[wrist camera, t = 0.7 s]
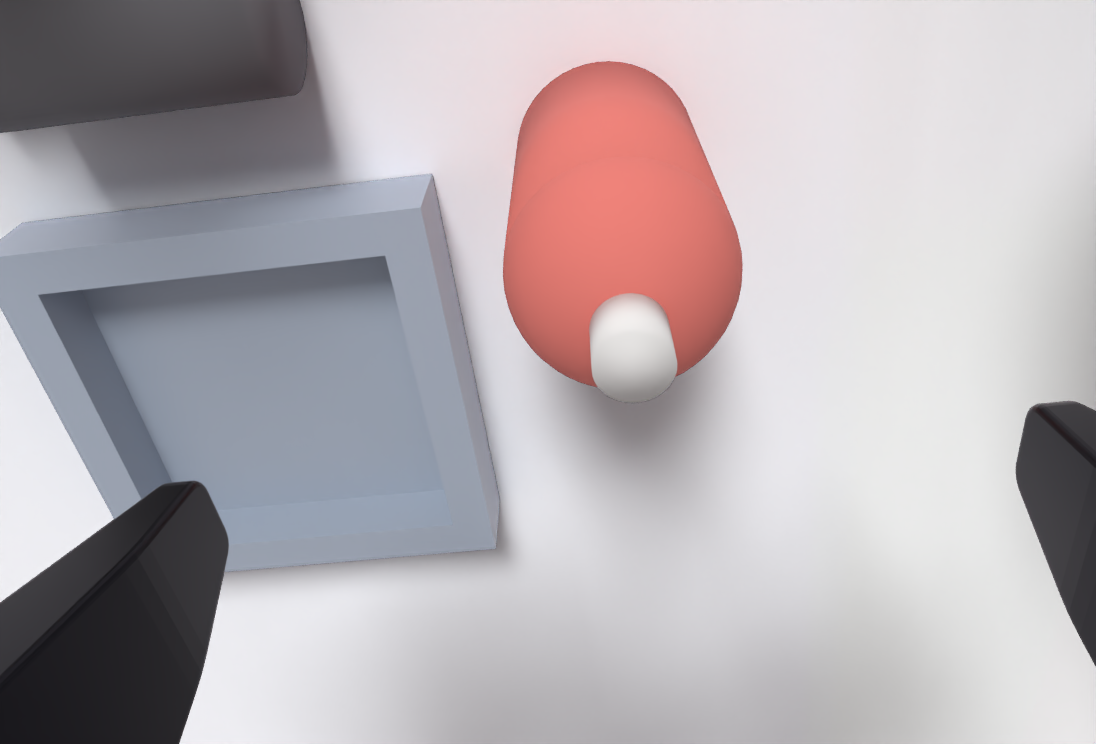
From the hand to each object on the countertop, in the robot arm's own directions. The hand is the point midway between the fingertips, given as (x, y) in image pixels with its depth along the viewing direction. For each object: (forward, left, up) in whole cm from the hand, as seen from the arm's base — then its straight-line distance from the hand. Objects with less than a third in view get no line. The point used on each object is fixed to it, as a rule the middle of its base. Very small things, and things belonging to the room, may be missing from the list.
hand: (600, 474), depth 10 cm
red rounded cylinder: (-1, +1, -12) cm, 12 cm away
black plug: (+8, -3, -12) cm, 15 cm away
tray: (+8, +6, -12) cm, 16 cm away
